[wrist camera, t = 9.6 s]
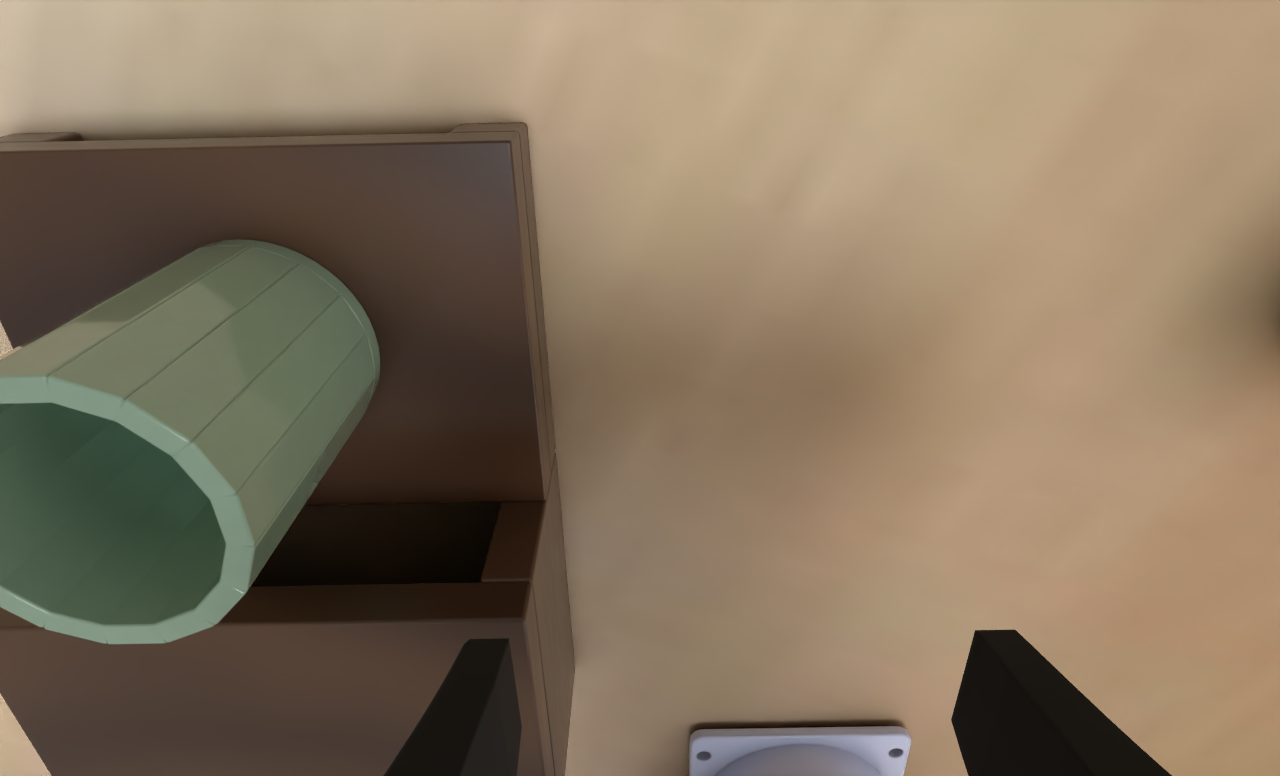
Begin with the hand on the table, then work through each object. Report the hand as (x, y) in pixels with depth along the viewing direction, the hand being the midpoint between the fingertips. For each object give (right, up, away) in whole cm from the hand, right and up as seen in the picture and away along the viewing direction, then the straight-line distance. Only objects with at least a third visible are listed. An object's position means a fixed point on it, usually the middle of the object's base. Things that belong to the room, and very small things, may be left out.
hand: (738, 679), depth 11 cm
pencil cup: (-10, +6, +5) cm, 13 cm away
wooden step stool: (-10, +3, +10) cm, 14 cm away
